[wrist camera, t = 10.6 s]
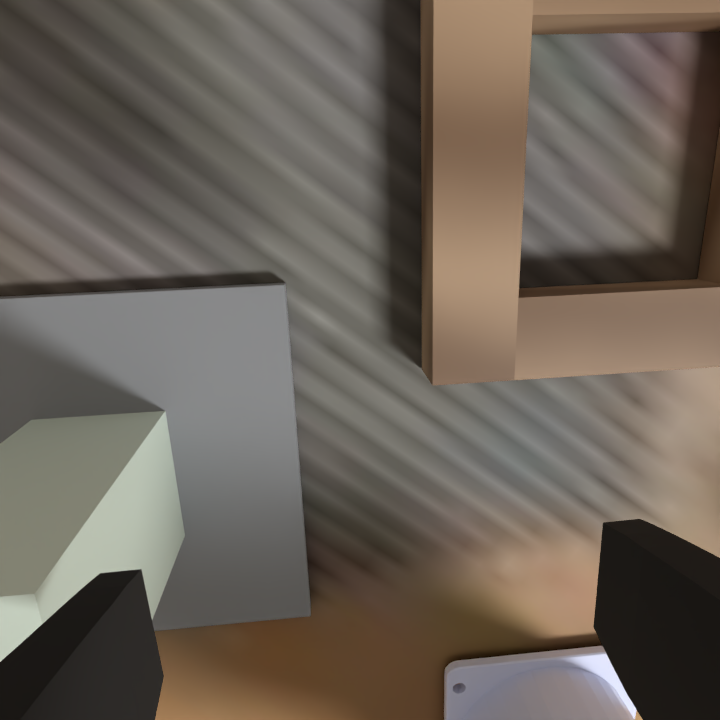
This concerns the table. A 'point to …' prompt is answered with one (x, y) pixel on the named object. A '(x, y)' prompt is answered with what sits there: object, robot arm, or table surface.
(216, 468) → the charcoal mat
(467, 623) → the table surface
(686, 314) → the wooden square frame
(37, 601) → the sage link block
